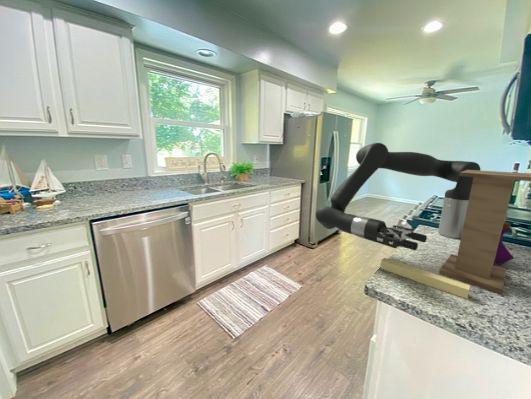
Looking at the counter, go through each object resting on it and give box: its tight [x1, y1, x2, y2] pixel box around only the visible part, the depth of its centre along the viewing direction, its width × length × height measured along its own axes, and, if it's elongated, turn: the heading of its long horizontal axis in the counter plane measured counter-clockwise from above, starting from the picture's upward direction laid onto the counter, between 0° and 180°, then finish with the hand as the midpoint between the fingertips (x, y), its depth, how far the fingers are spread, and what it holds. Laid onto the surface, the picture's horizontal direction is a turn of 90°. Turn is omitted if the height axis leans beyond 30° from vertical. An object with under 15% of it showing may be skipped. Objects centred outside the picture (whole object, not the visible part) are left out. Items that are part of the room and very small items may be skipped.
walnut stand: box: [438, 170, 531, 295], centre depth 69 cm, size 16×14×32 cm
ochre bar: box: [380, 257, 471, 300], centre depth 69 cm, size 3×22×3 cm, turn 44°
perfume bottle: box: [494, 211, 515, 265], centre depth 79 cm, size 8×8×18 cm
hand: (421, 242), depth 68 cm, fingers open, 8 cm apart
